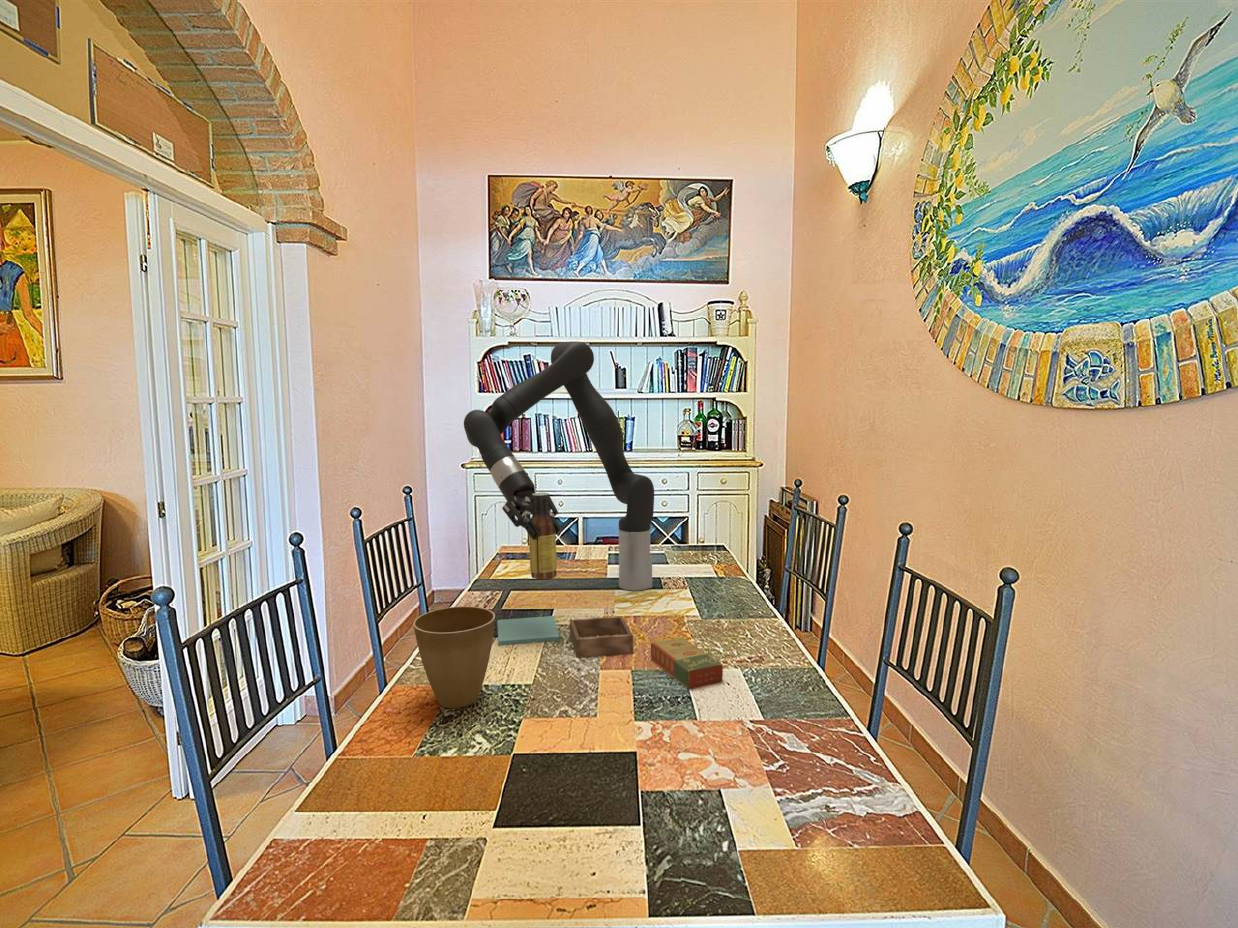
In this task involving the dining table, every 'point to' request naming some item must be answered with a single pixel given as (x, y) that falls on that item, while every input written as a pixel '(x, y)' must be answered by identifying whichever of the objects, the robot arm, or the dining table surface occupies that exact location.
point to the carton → (686, 662)
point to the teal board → (527, 630)
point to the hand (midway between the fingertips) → (547, 534)
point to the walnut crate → (604, 643)
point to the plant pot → (455, 651)
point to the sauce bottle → (542, 540)
